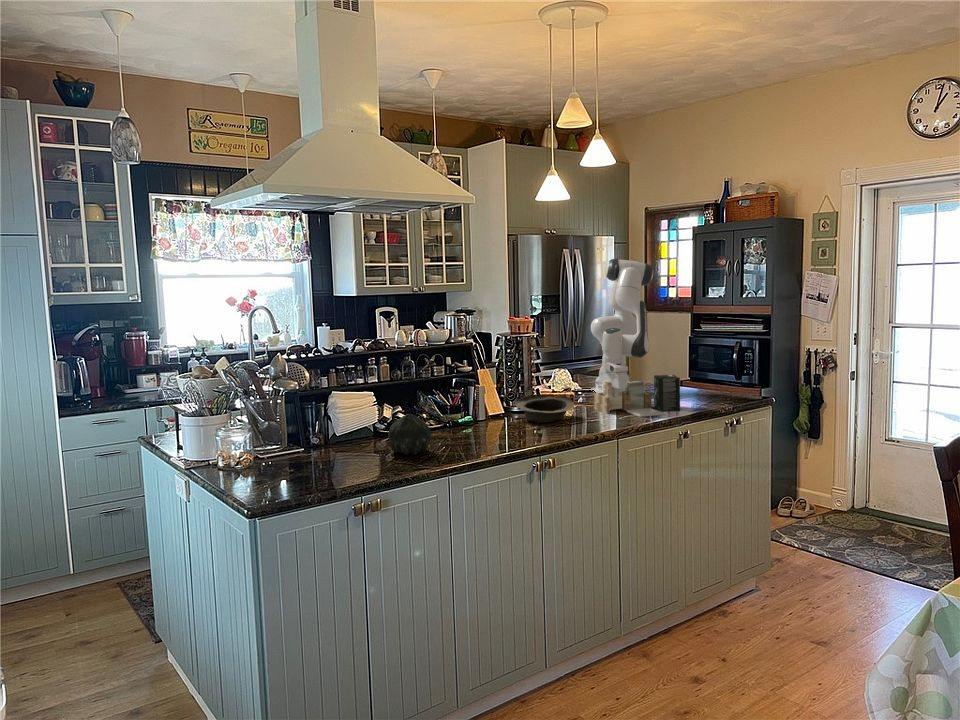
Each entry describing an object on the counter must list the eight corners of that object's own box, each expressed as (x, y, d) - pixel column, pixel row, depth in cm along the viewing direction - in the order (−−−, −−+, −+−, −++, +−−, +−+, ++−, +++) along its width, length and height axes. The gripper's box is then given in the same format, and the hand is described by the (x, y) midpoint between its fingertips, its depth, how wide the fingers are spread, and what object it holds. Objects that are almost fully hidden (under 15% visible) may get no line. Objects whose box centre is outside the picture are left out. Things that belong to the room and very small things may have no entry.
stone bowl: (541, 410, 323) (542, 390, 321) (586, 422, 305) (587, 400, 304) (502, 419, 306) (503, 397, 304) (548, 431, 288) (549, 408, 287)
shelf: (593, 408, 325) (593, 382, 324) (636, 404, 332) (636, 378, 330) (607, 413, 313) (606, 386, 311) (651, 409, 319) (651, 382, 318)
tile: (626, 412, 315) (626, 410, 315) (649, 410, 318) (649, 407, 318) (639, 416, 304) (639, 414, 304) (662, 414, 308) (662, 412, 308)
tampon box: (680, 410, 315) (680, 377, 313) (659, 411, 315) (659, 378, 313) (674, 406, 326) (674, 374, 324) (653, 406, 326) (653, 374, 324)
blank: (603, 407, 320) (602, 381, 319) (617, 406, 322) (617, 380, 321) (607, 409, 316) (607, 382, 315) (622, 408, 318) (622, 381, 317)
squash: (411, 429, 266) (393, 404, 257) (444, 435, 258) (426, 409, 248) (393, 461, 259) (373, 436, 249) (425, 468, 251) (406, 442, 241)
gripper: (595, 363, 326) (595, 393, 328) (616, 368, 306) (617, 401, 308) (607, 362, 328) (608, 392, 329) (630, 367, 308) (630, 399, 310)
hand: (612, 396), depth 319 cm, fingers closed on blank, 4 cm apart
